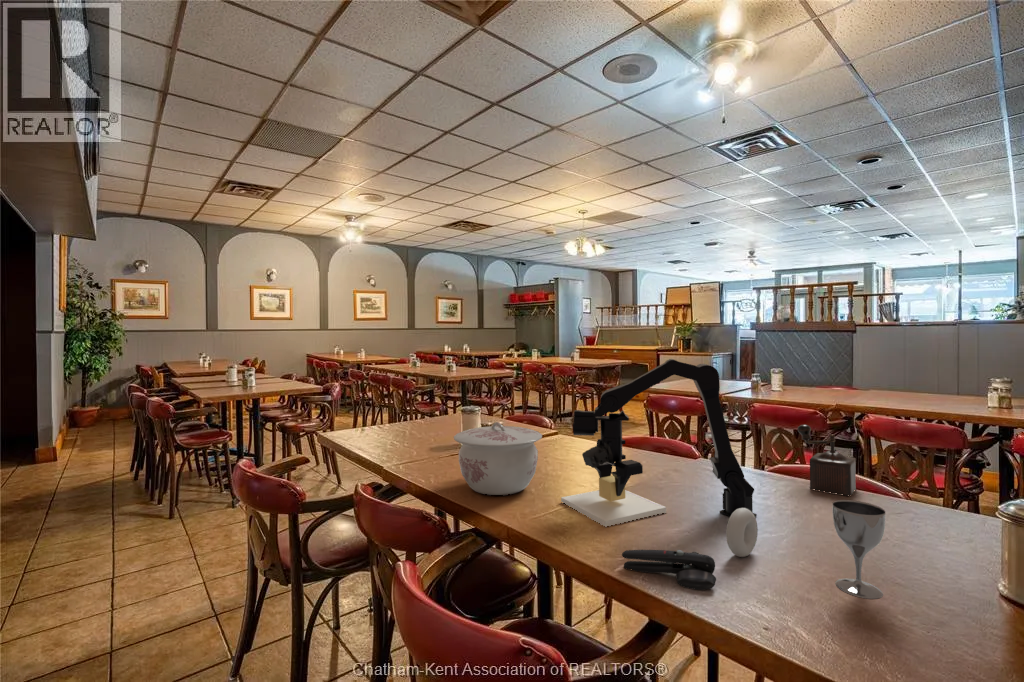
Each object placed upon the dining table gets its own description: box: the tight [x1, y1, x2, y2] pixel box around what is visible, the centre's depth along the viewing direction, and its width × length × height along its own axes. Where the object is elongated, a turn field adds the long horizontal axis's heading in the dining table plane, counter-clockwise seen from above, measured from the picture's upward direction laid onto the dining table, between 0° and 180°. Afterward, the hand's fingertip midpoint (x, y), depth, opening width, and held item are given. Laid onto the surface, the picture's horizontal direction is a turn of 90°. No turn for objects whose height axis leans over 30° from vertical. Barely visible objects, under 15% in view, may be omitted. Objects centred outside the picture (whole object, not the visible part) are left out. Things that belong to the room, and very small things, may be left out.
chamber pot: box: [453, 421, 543, 496], centre depth 150 cm, size 28×28×21 cm
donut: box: [725, 508, 759, 558], centre depth 103 cm, size 10×4×10 cm, turn 131°
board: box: [560, 489, 667, 528], centre depth 132 cm, size 20×20×2 cm
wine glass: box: [831, 499, 887, 600], centre depth 89 cm, size 8×8×15 cm
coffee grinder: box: [797, 424, 857, 497], centre depth 147 cm, size 16×11×18 cm
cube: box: [598, 475, 626, 501], centre depth 132 cm, size 5×5×5 cm
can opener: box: [621, 549, 717, 591], centre depth 95 cm, size 18×7×6 cm, turn 62°
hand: (612, 493), depth 132 cm, fingers open, 5 cm apart
